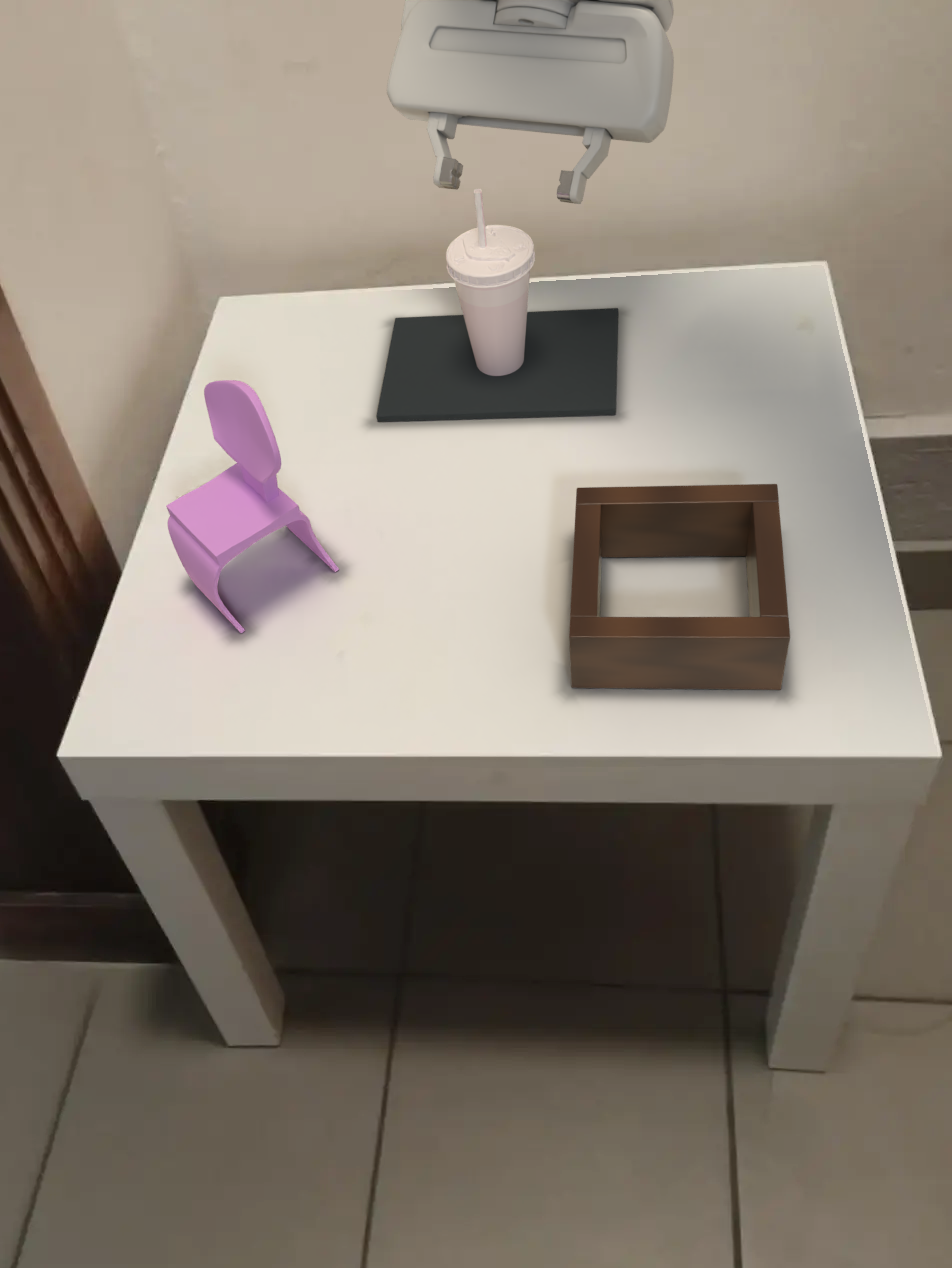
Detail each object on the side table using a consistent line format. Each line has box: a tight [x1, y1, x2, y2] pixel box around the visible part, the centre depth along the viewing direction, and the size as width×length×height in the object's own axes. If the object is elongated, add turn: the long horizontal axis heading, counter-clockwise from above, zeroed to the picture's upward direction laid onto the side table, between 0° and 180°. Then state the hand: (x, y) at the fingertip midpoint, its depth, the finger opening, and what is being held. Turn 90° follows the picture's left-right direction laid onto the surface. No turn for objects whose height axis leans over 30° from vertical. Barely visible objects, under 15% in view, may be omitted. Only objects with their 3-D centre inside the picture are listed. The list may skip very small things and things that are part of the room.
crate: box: [568, 483, 791, 691], centre depth 77 cm, size 13×13×5 cm
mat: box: [375, 307, 619, 423], centre depth 95 cm, size 18×12×1 cm, turn 84°
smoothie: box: [445, 188, 536, 376], centre depth 89 cm, size 6×6×14 cm
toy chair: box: [166, 379, 340, 634], centre depth 79 cm, size 8×9×15 cm
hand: (506, 194), depth 87 cm, fingers open, 8 cm apart
